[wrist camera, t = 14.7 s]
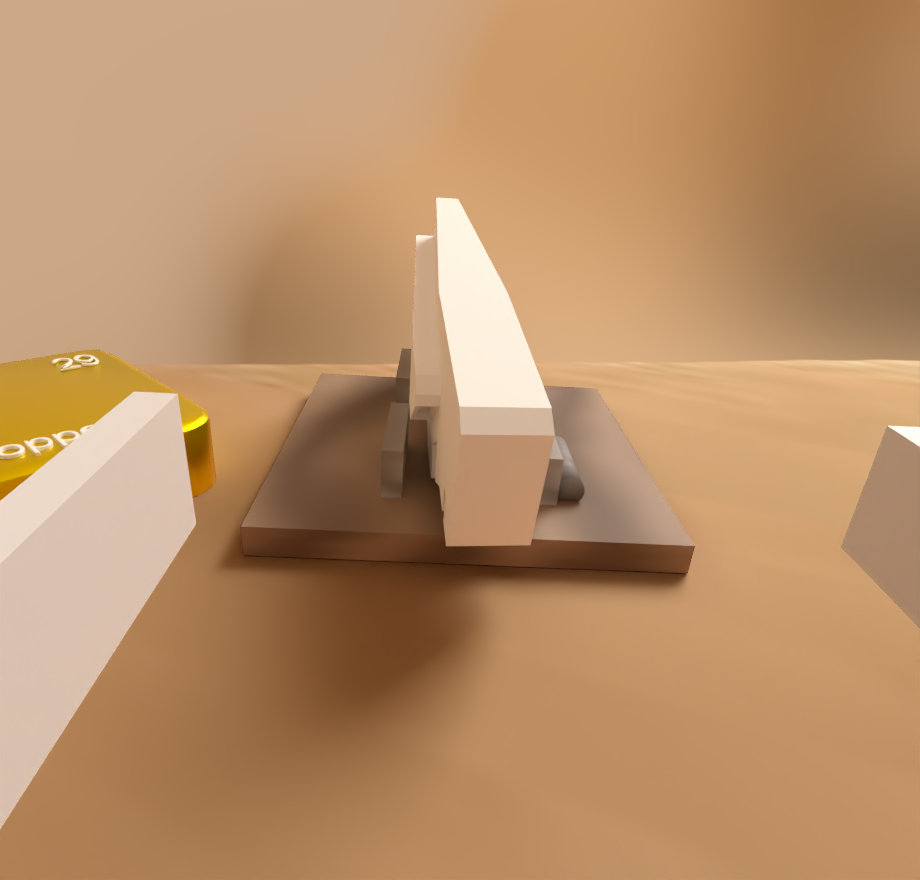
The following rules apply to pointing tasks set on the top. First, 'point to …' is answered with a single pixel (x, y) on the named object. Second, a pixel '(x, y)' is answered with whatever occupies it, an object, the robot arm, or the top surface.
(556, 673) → the top surface
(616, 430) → the hinge board
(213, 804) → the top surface
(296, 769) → the top surface
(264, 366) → the top surface
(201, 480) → the element tile
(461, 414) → the shelf bracket
